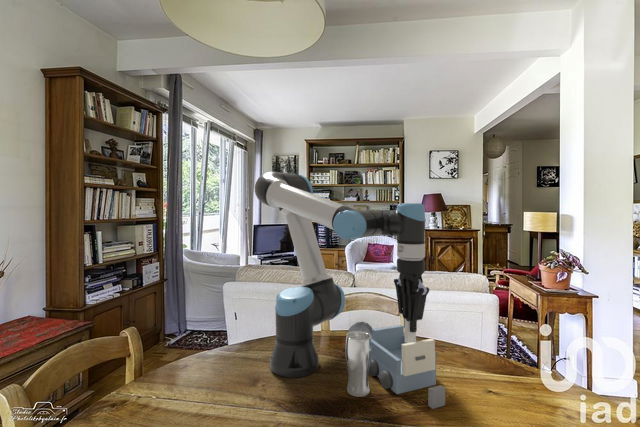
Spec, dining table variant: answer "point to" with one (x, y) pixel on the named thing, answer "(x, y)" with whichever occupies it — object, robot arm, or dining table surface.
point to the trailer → (400, 366)
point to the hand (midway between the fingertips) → (410, 341)
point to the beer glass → (358, 362)
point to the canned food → (361, 328)
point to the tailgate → (418, 357)
